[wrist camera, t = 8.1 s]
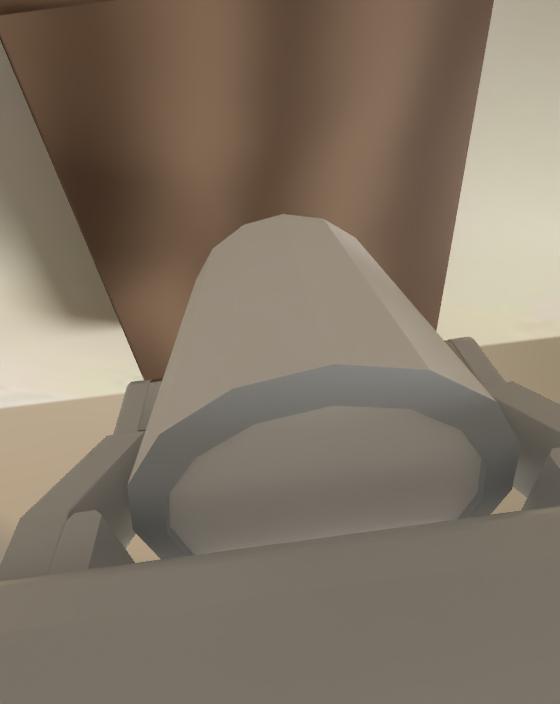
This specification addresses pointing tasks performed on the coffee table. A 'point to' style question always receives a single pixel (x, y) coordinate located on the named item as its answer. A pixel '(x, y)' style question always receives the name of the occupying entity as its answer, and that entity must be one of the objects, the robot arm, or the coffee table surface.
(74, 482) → the robot arm
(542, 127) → the coffee table surface
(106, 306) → the coffee table surface
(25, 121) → the coffee table surface
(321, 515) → the white cylinder
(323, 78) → the walnut box
